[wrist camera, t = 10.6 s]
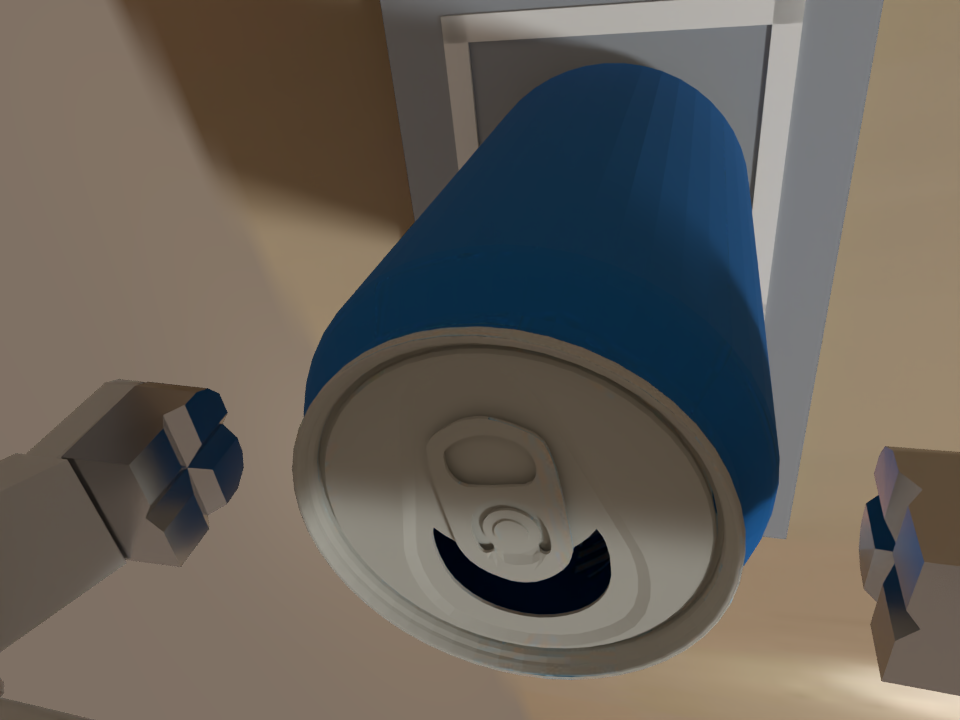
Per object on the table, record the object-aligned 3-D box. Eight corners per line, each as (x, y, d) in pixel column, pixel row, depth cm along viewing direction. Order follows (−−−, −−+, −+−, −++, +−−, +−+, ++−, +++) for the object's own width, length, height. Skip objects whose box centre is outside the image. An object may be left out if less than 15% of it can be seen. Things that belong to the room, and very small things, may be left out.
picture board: (380, -79, 17) (366, -76, 17) (899, -135, 14) (908, -134, 14) (464, 486, 27) (458, 503, 26) (784, 521, 24) (786, 541, 23)
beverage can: (517, 313, 21) (355, 679, 12) (461, 85, 18) (175, 328, 9) (755, 291, 19) (798, 720, 9) (737, 26, 16) (775, 264, 6)
